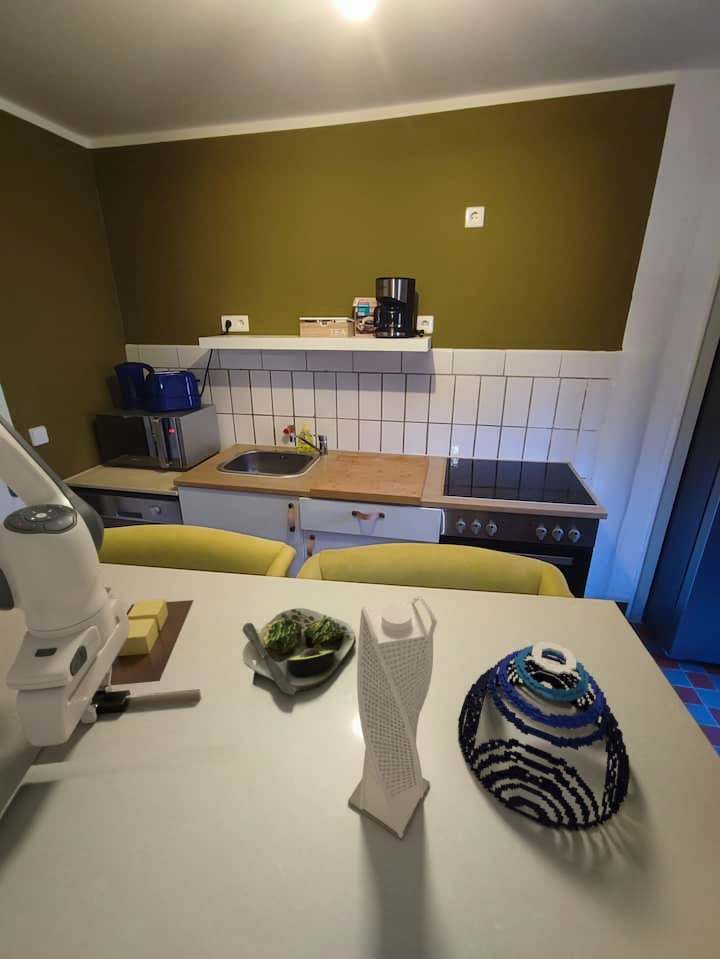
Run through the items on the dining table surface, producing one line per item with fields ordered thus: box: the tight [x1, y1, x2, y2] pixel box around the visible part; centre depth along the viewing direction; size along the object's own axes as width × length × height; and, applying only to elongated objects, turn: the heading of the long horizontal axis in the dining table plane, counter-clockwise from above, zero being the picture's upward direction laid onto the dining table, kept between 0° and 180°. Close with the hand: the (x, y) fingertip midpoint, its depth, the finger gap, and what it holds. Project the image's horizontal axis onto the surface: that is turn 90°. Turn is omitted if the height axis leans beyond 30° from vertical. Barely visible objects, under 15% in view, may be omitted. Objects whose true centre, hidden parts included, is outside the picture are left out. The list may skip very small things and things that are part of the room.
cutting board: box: [110, 599, 194, 686], centre depth 73 cm, size 16×20×2 cm
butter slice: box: [128, 598, 168, 631], centre depth 76 cm, size 5×4×4 cm
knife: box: [90, 688, 202, 716], centre depth 60 cm, size 18×2×3 cm, turn 96°
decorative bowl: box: [457, 640, 631, 832], centre depth 53 cm, size 20×20×14 cm
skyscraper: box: [347, 594, 438, 841], centre depth 44 cm, size 8×8×28 cm
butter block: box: [117, 618, 158, 656], centre depth 71 cm, size 5×4×4 cm
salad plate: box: [242, 607, 357, 696], centre depth 71 cm, size 19×18×5 cm
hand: (98, 707), depth 60 cm, fingers closed on knife, 2 cm apart
